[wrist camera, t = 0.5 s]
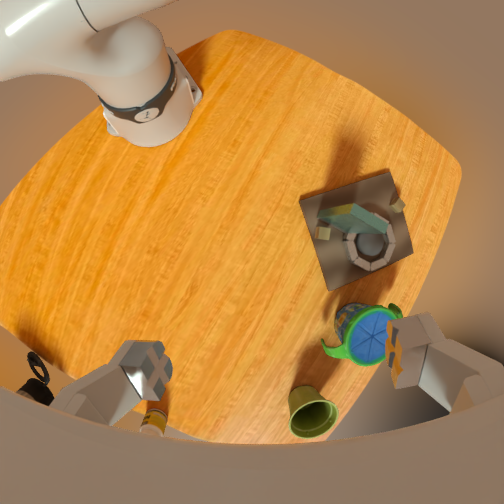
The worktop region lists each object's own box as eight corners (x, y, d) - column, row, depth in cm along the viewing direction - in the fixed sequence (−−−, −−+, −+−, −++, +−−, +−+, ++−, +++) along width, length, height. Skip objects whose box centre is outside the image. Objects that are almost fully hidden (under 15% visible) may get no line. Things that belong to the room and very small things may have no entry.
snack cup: (318, 357, 53) (337, 381, 42) (307, 309, 52) (325, 326, 41) (386, 330, 54) (413, 346, 44) (379, 283, 53) (408, 292, 43)
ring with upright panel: (314, 212, 49) (347, 205, 35) (375, 191, 50) (420, 180, 36) (337, 283, 50) (374, 300, 36) (395, 257, 51) (441, 264, 37)
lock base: (298, 201, 50) (303, 199, 47) (387, 172, 51) (395, 170, 48) (327, 290, 52) (333, 293, 49) (410, 252, 53) (419, 253, 50)
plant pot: (333, 391, 53) (348, 413, 45) (302, 421, 53) (312, 445, 45) (303, 369, 52) (315, 391, 44) (270, 401, 52) (277, 426, 44)
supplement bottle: (150, 404, 50) (141, 427, 42) (171, 414, 51) (164, 439, 42) (142, 418, 50) (133, 441, 42) (162, 428, 51) (155, 452, 42)
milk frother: (38, 410, 48) (10, 440, 33) (9, 354, 46) (-26, 377, 31) (76, 408, 49) (48, 444, 34) (45, 346, 47) (7, 373, 32)
